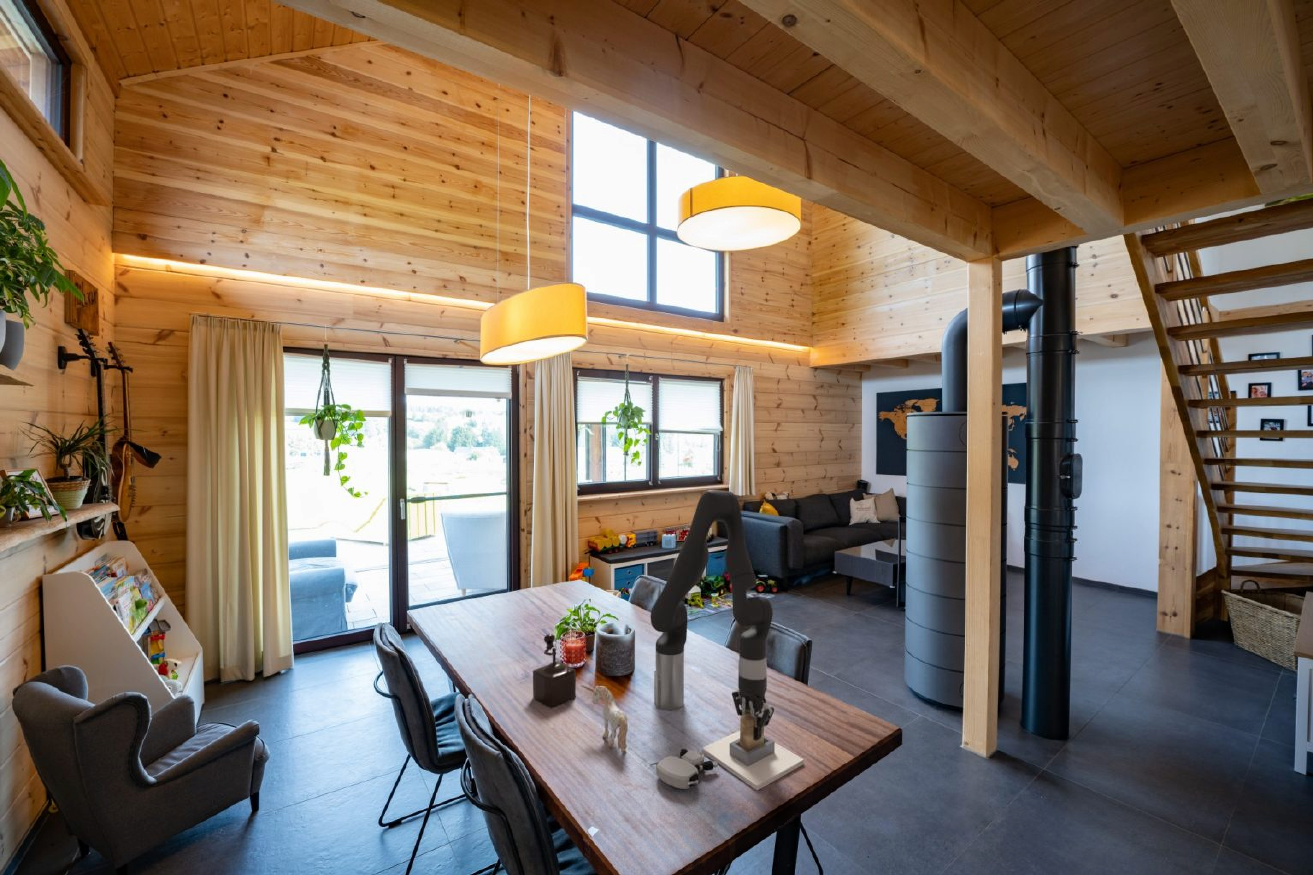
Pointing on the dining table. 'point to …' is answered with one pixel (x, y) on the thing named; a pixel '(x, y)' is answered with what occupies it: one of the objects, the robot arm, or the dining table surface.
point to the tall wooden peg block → (749, 733)
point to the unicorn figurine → (611, 716)
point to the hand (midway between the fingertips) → (752, 736)
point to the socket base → (753, 760)
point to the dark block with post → (554, 680)
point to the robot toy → (683, 768)
